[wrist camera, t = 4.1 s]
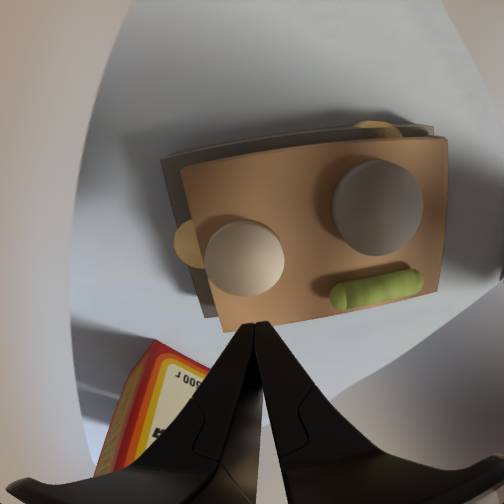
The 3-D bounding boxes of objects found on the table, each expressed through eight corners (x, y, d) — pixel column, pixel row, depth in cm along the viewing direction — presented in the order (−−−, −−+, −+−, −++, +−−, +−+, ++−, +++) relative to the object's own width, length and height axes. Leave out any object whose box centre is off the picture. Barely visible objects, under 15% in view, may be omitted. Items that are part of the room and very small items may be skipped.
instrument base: (414, 119, 15) (433, 121, 13) (413, 268, 20) (427, 283, 18) (161, 151, 16) (150, 156, 14) (202, 303, 21) (198, 322, 19)
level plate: (437, 135, 13) (472, 143, 10) (431, 275, 17) (455, 301, 14) (188, 164, 14) (172, 176, 11) (225, 313, 18) (222, 350, 15)
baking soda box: (127, 375, 25) (79, 526, 10) (155, 339, 22) (98, 529, 8) (211, 416, 27) (198, 559, 13) (250, 387, 25) (249, 559, 10)
